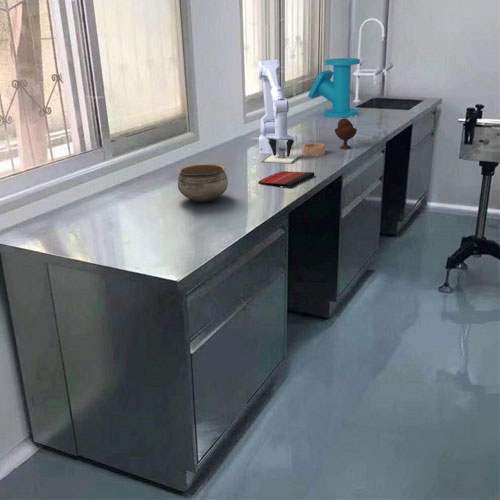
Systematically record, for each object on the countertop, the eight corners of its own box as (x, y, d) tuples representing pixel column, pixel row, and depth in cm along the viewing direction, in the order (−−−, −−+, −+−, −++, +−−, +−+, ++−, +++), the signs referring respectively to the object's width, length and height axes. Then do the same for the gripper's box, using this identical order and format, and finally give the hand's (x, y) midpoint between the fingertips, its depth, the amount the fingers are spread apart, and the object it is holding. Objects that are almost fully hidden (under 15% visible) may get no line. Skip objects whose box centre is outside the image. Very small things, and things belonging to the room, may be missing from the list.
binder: (314, 171, 246) (289, 184, 230) (314, 177, 247) (290, 190, 231) (281, 169, 255) (255, 181, 239) (282, 174, 256) (256, 186, 240)
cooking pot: (215, 212, 207) (213, 178, 203) (167, 208, 213) (164, 176, 208) (238, 192, 229) (236, 161, 224) (194, 189, 235) (191, 159, 230)
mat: (260, 163, 271) (260, 162, 271) (270, 155, 285) (270, 154, 285) (293, 165, 266) (293, 164, 266) (302, 157, 280) (302, 156, 280)
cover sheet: (264, 161, 272) (264, 154, 271) (272, 155, 283) (272, 148, 282) (291, 163, 268) (290, 155, 266) (298, 156, 279) (298, 149, 277)
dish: (300, 156, 281) (300, 147, 279) (306, 151, 290) (306, 142, 288) (321, 157, 277) (321, 148, 276) (326, 152, 286) (326, 143, 285)
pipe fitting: (350, 118, 374) (352, 61, 360) (305, 115, 389) (305, 60, 376) (363, 112, 391) (364, 58, 378) (319, 110, 407) (320, 58, 393)
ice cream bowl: (356, 150, 288) (357, 119, 283) (333, 150, 291) (333, 120, 285) (356, 145, 298) (357, 116, 292) (334, 145, 300) (335, 116, 295)
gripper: (263, 127, 269) (264, 156, 274) (293, 128, 264) (294, 158, 269) (268, 125, 275) (269, 153, 280) (298, 125, 270) (298, 154, 275)
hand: (281, 155), depth 275 cm, fingers open, 6 cm apart
